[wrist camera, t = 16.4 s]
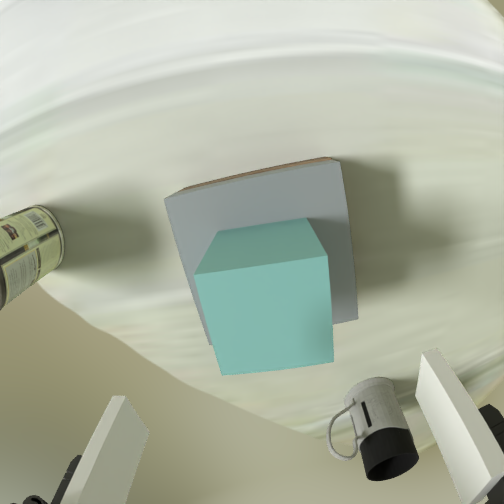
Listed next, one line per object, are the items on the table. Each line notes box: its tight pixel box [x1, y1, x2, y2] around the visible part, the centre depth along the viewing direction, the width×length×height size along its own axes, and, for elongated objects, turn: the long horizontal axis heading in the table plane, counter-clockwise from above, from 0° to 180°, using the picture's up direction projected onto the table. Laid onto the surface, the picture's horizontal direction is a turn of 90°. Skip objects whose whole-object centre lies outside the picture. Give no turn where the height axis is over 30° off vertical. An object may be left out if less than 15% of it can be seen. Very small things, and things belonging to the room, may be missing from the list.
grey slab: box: [164, 160, 358, 345], centre depth 30 cm, size 16×16×4 cm
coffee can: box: [0, 205, 64, 310], centre depth 30 cm, size 10×10×14 cm
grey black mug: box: [326, 377, 419, 481], centre depth 36 cm, size 9×14×15 cm, turn 70°
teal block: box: [194, 218, 334, 375], centre depth 24 cm, size 8×8×10 cm
